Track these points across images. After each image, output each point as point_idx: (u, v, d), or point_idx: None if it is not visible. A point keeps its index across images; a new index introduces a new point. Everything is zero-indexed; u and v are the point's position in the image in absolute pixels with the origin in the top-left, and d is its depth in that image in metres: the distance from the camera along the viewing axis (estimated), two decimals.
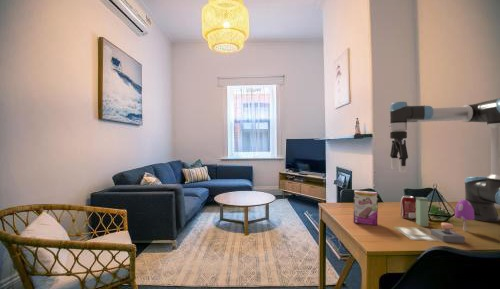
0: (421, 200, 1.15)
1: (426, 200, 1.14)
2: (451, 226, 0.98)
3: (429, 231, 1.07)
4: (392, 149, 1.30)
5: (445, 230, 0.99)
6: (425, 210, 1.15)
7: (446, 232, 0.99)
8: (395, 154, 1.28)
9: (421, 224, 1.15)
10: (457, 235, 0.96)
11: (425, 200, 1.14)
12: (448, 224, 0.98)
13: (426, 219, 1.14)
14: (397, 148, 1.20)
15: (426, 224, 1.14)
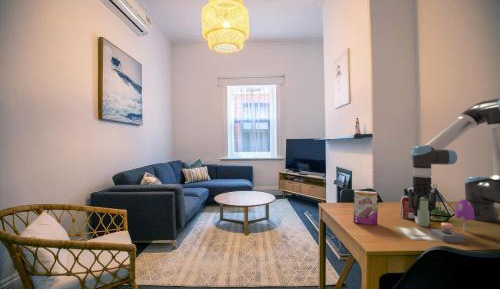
0: (421, 200, 1.15)
1: (426, 200, 1.14)
2: (451, 226, 0.98)
3: (429, 231, 1.07)
4: (430, 198, 1.17)
5: (445, 230, 0.99)
6: (425, 210, 1.15)
7: (446, 232, 0.99)
8: None
9: (421, 224, 1.15)
10: (457, 235, 0.96)
11: (425, 200, 1.14)
12: (448, 224, 0.98)
13: (426, 219, 1.14)
14: None
15: (426, 224, 1.14)
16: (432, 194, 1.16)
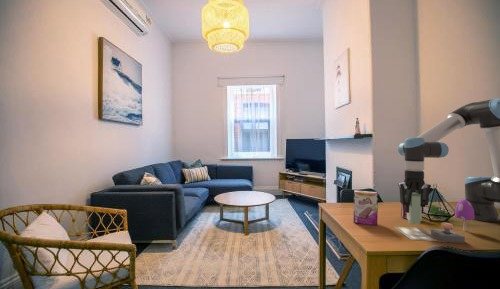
0: (413, 195, 1.07)
1: (418, 195, 1.07)
2: (451, 226, 0.98)
3: (429, 231, 1.07)
4: (423, 193, 1.09)
5: (445, 230, 0.99)
6: (417, 206, 1.07)
7: (446, 232, 0.99)
8: None
9: (413, 221, 1.07)
10: (457, 235, 0.96)
11: (417, 196, 1.07)
12: (448, 224, 0.98)
13: (418, 215, 1.07)
14: None
15: (418, 221, 1.07)
16: (425, 189, 1.08)
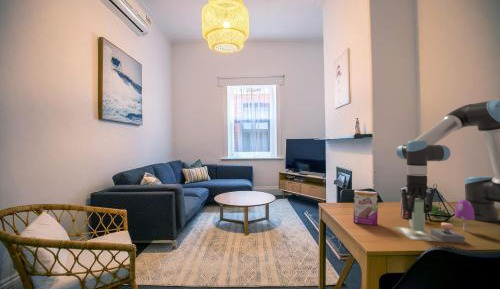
0: (416, 201, 1.03)
1: (421, 201, 1.02)
2: (451, 226, 0.98)
3: (429, 231, 1.07)
4: (426, 199, 1.05)
5: (445, 230, 0.99)
6: (420, 212, 1.03)
7: (446, 232, 0.99)
8: None
9: (416, 228, 1.03)
10: (457, 235, 0.96)
11: (420, 202, 1.02)
12: (448, 224, 0.98)
13: (421, 222, 1.02)
14: None
15: (421, 228, 1.02)
16: (428, 194, 1.04)
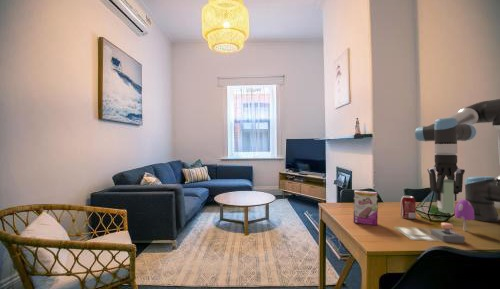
0: (445, 182, 0.98)
1: (451, 182, 0.98)
2: (451, 226, 0.98)
3: (429, 231, 1.07)
4: (455, 180, 1.00)
5: (445, 230, 0.99)
6: (450, 193, 0.98)
7: (446, 232, 0.99)
8: None
9: (445, 210, 0.98)
10: (457, 235, 0.96)
11: (450, 182, 0.98)
12: (448, 224, 0.98)
13: (451, 203, 0.98)
14: None
15: (451, 210, 0.98)
16: (458, 175, 0.99)
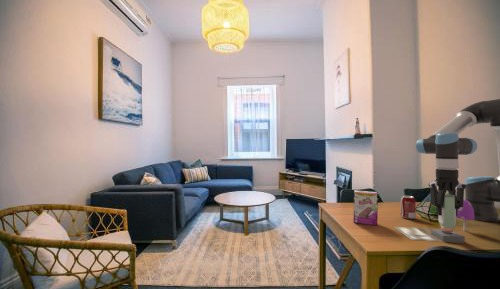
0: (446, 196, 0.98)
1: (452, 196, 0.98)
2: (451, 229, 0.98)
3: (429, 231, 1.07)
4: (456, 194, 1.00)
5: (445, 233, 0.99)
6: (451, 208, 0.98)
7: None
8: None
9: (446, 225, 0.98)
10: (457, 235, 0.96)
11: (451, 197, 0.98)
12: None
13: (452, 218, 0.98)
14: None
15: (452, 225, 0.98)
16: (459, 189, 0.99)
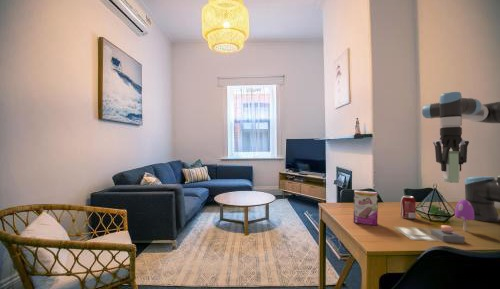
0: (450, 153, 1.03)
1: (456, 152, 1.03)
2: (451, 229, 0.98)
3: (429, 231, 1.07)
4: (460, 151, 1.05)
5: (445, 233, 0.99)
6: (455, 164, 1.03)
7: None
8: None
9: (451, 179, 1.03)
10: (457, 235, 0.96)
11: (455, 153, 1.03)
12: (448, 227, 0.98)
13: (456, 173, 1.03)
14: None
15: (456, 179, 1.03)
16: (462, 146, 1.04)
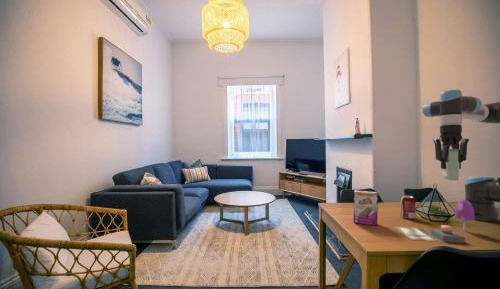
0: (450, 150, 1.03)
1: (456, 150, 1.03)
2: (451, 229, 0.98)
3: (429, 231, 1.07)
4: None
5: (445, 233, 0.99)
6: (455, 161, 1.03)
7: None
8: None
9: (450, 177, 1.03)
10: (457, 235, 0.96)
11: (455, 151, 1.03)
12: (448, 227, 0.98)
13: (456, 171, 1.03)
14: None
15: (456, 177, 1.03)
16: (462, 144, 1.04)
